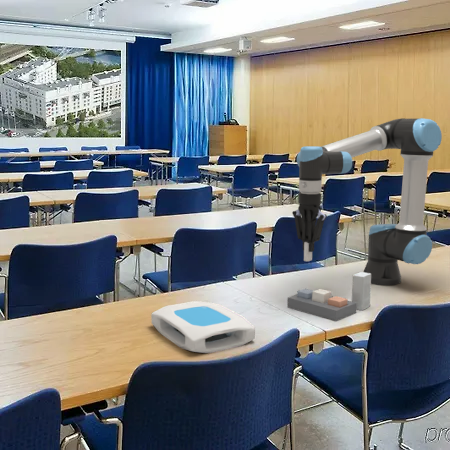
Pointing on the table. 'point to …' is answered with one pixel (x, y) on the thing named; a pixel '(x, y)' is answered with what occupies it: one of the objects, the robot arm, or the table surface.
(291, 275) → the table surface
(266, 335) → the table surface
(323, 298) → the white key
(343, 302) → the terracotta key
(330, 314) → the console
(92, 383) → the table surface
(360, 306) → the skincare box
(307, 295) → the slate key
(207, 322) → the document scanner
